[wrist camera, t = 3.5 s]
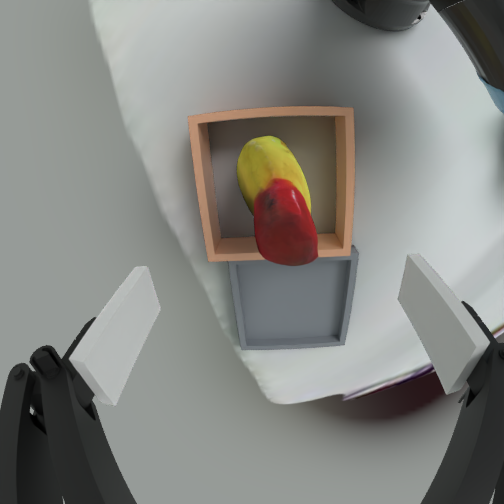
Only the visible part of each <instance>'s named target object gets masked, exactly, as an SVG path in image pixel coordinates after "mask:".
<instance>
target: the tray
mask: <svg viewBox="0 0 504 504" xmlns="http://www.w3.org/2000/svg"><path fill="white" fill-rule="evenodd" d="M358 256H359V253H358V251H357V249H356V247H355V246H354V245H351V253H350V256H335V257H317V258H316V259H315V260H314V261H313V262H311V263H308V264H305V265H300V266H287V265H280V264H276V263H273V262H270V261H268V260H243V261H228V266H229V273H230V280H231V287H232V294H233V301H234V307H235V314H236V321H237V327H238V333H239V340H240V346H241V350H274V349H299V348H316V347H329V346H340V345H345V340H346V335H347V330H348V324H349V319H350V313H351V307H352V301H353V294H354V288H355V280H356V273H357V265H358Z"/></svg>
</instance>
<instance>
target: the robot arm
mask: <svg viewBox="0 0 504 504" xmlns="http://www.w3.org/2000/svg"><path fill="white" fill-rule="evenodd" d="M332 1H333V2H334V3H335V4H336V5H337V6H338V7H339V8H341V9H342V10H343V11H344V12H346V13H347V14H348V15H350V16H351V17H353V18H355V19H356V20H358V21H360V22H362V23H364V24H367V25H369V26H372V27H375V28H378V29H382V30H389V31H400V30H405V29H408V28H410V27H412V26H414V25H415V24H417V23H419V22H420V21H421V20H422V19H423V18H424V16H425V14H426V12H427V10H428V8H429V6H430V4H432V6H433V7H434V8H435V9H436V10H437V12H438V13H439V15H440V16H441V17H442V18H443V20H444V21H445V22H446V24H447V25H448V26H449V28H450V29H451V30H452V32H453V33H454V35H455V36H456V38H457V39H458V41H459V42H460V44H461V45H462V47H463V48H464V50H465V51H466V53H467V55H468V56H469V58H470V60H471V61H472V63H473V65H474V67H475V69H476V72H477V75H478V76H479V79H480V80H481V81H482V82H483V83H484V85H485V87H486V88H487V90H488V92H489V94H490V96H491V98H492V100H493V102H494V103H495V105H496V106H497V108H498V109H499V110H500V111H501V112H502V113H504V0H464V1H463V0H332ZM461 1H462V2H461ZM458 2H459V3H458ZM456 3H457V4H456ZM454 4H455V5H454ZM452 5H453V6H452ZM449 6H450V7H449ZM447 7H448V8H447ZM445 8H446V9H445ZM443 9H444V10H443ZM441 10H442V11H441ZM439 11H440V12H439ZM398 300H399V302H400V304H401V305H402V307H403V309H404V311H405V312H406V314H407V316H408V318H409V320H410V321H411V323H412V325H413V327H414V329H415V331H416V332H417V334H418V336H419V338H420V340H421V342H422V344H423V346H424V348H425V350H426V352H427V354H428V356H429V358H430V360H431V362H432V364H433V366H434V368H435V370H436V372H437V374H438V376H439V379H440V381H441V383H442V386H443V388H444V390H445V392H446V394H450V393H453V392H455V391H458V390H460V389H461V388H462V386H463V385H464V384H465V382H466V381H467V382H468V384H469V387H468V389H467V390H466V391H465V393H464V394H463V395H462V397H461V398H460V400H459V402H458V403H460V402H461V401H462V400H463V399H464V401H463V405H462V408H461V411H460V415H459V418H458V421H457V424H456V427H455V430H454V433H453V435H452V438H451V441H450V443H449V446H448V449H447V451H446V453H445V456H444V458H443V461H442V463H441V465H440V467H439V469H438V472H437V474H436V476H435V478H434V480H433V482H432V484H431V486H430V488H429V490H428V492H427V493H426V495H425V497H424V499H423V500H422V502H421V504H489V503H490V500H491V498H492V495H493V492H494V489H495V494H494V498H493V503H492V504H504V343H498V342H497V341H496V339H495V338H494V336H493V335H492V334H491V332H490V331H489V329H488V328H487V327H486V325H485V324H484V322H482V320H481V318H480V317H479V316H478V314H477V313H476V312H475V311H474V309H473V308H472V307H471V306H470V305H468V304H467V303H465V302H464V301H462V302H461V301H460V300H459V299H458V298H457V296H456V295H455V294H454V293H453V291H452V290H451V289H450V288H449V287H448V285H447V284H446V283H445V282H444V281H443V279H442V278H441V277H440V276H439V275H438V274H437V273H436V271H435V270H434V269H433V268H432V267H431V266H430V265H429V263H428V262H427V261H426V260H425V259H424V258H423V257H422V256H421V255H420V254H407V260H406V265H405V270H404V274H403V279H402V283H401V288H400V292H399V296H398ZM160 310H161V308H160V304H159V301H158V298H157V295H156V292H155V288H154V285H153V282H152V278H151V275H150V272H149V268H148V266H136V267H135V268H134V269H133V270H132V271H131V273H130V274H129V275H128V276H127V278H126V279H125V280H124V282H123V283H122V284H121V285H120V287H119V288H118V289H117V291H116V292H115V293H114V295H113V296H112V297H111V299H110V300H109V301H108V303H107V304H106V305H105V307H104V308H103V310H102V311H101V312H100V314H99V315H98V317H97V318H96V317H94V318H93V319H91V320H90V321H89V322H88V323H86V324H85V326H84V327H83V329H82V330H81V331H80V333H79V334H78V336H77V337H76V340H74V341H73V343H72V344H71V346H70V347H69V349H68V350H67V352H66V353H65V355H64V356H63V358H62V359H61V358H60V357H59V355H58V354H57V352H56V351H55V349H54V348H53V347H52V346H48V345H46V346H42V347H40V348H38V349H37V350H36V351H35V352H34V353H33V354H32V356H31V358H30V364H31V365H32V366H33V368H34V369H35V370H36V371H32V370H31V369H30V368H29V366H28V365H27V364H25V363H20V364H17V365H15V366H14V367H13V368H12V370H11V371H10V373H9V375H8V379H7V383H6V387H5V391H4V395H3V399H2V405H1V409H0V504H63V499H64V501H65V504H137V503H136V501H135V500H134V498H133V496H132V494H131V492H130V490H129V488H128V486H127V484H126V482H125V480H124V478H123V476H122V474H121V472H120V470H119V468H118V465H117V463H116V461H115V458H114V456H113V454H112V451H111V449H110V446H109V444H108V441H107V439H106V436H105V433H104V431H103V428H102V425H101V422H100V419H99V416H98V413H97V410H96V406H95V404H94V403H93V401H92V399H93V397H94V395H95V396H96V397H97V398H98V399H99V401H100V402H101V403H104V404H108V405H112V406H116V404H117V402H118V399H119V397H120V395H121V392H122V390H123V388H124V386H125V383H126V381H127V379H128V377H129V374H130V372H131V370H132V368H133V366H134V364H135V361H136V359H137V357H138V355H139V353H140V351H141V348H142V347H143V345H144V342H145V340H146V338H147V336H148V334H149V332H150V330H151V328H152V326H153V324H154V322H155V320H156V318H157V316H158V314H159V312H160ZM30 407H32V409H33V410H34V413H33V415H32V414H31V413H30ZM62 496H63V498H62Z"/></svg>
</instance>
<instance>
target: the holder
mask: <svg viewBox="0 0 504 504" xmlns="http://www.w3.org/2000/svg"><path fill="white" fill-rule="evenodd" d="M286 116H335V130H336V223H335V233H322V234H317V237H318V247H317V248H318V257H335V256H350V253H351V241H352V228H353V211H354V186H355V133H354V109H353V108H351V107H329V106H289V107H266V108H252V109H240V110H230V111H222V112H214V113H206V114H200V115H193V116H188V124H189V133H190V141H191V150H192V158H193V165H194V173H195V180H196V187H197V194H198V201H199V208H200V214H201V221H202V227H203V233H204V239H205V245H206V251H207V257H208V262H217V261H243V260H266V259H265V258H263V257H262V255H261V254H260V253H259V250H258V248H257V244H256V239H255V236H252V237H232V238H221V232H220V225H219V217H218V210H217V202H216V194H215V186H214V178H213V169H212V161H211V152H210V143H209V134H208V124H207V123H212V122H220V121H229V120H239V119H250V118H265V117H286Z"/></svg>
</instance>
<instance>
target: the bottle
mask: <svg viewBox="0 0 504 504" xmlns="http://www.w3.org/2000/svg"><path fill="white" fill-rule="evenodd" d="M237 178H238V184H239V187H240V190H241V193H242V195H243V198H244V200H245V202H246V204H247V206H248V208H249V210H250V211H251V213H252V215H253V216H254V229H255V239H256V244H257V248H258V250H259V253H260V254H261V255H262V257H263V258H265V259H266V260H268V261H270V262H273V263H276V264H280V265H287V266H300V265H305V264H308V263H311V262H313V261H314V260H315V259H316V258H317V257H318V248H317V247H318V237H317V232H316V228H315V225H314V222H313V220H312V217H311V199H310V194H309V189H308V186H307V183H306V179H305V177H304V174H303V172H302V169H301V167H300V166H299V164H298V162H297V160H296V159H295V157H294V155H293V154H292V152H291V151H290V150H289V149H288V147H287V146H286V144H285V143H284V142H283V141H281V140H280V139H279V138H276V137H273V136H263V137H257V138H254V139H252V140H250V141H249V142H247V143H246V144H245V145H244V147H243V149H242V151H241V153H240V156H239V158H238V162H237Z"/></svg>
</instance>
